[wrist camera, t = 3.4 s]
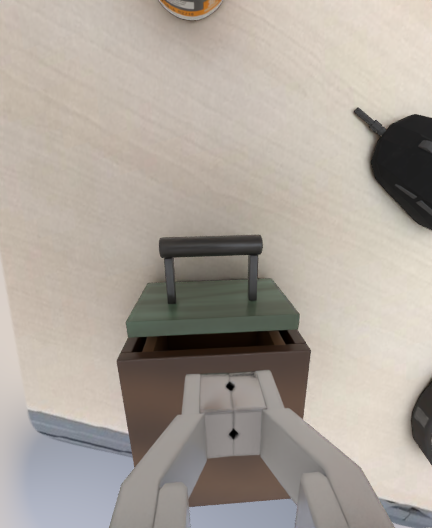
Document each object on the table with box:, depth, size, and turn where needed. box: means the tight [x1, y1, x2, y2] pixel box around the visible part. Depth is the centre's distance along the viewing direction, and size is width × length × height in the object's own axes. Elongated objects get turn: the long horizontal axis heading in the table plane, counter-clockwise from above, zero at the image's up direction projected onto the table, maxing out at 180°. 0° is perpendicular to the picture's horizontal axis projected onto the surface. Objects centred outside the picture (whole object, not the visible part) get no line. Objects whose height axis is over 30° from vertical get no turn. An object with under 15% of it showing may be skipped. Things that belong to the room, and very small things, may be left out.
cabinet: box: [117, 329, 311, 507], centre depth 22 cm, size 15×13×9 cm
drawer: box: [126, 235, 299, 352], centre depth 20 cm, size 18×11×7 cm, turn 1°
